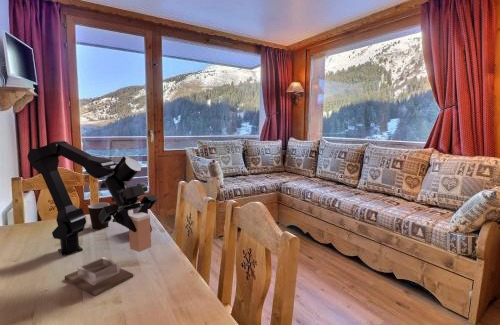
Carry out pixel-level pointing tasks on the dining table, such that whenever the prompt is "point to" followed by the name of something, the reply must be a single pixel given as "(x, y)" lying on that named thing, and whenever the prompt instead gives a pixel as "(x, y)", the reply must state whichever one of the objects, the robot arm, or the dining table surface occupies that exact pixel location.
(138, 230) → the tan box white top
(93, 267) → the square socket base
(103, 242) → the dining table surface
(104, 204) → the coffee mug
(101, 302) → the dining table surface
